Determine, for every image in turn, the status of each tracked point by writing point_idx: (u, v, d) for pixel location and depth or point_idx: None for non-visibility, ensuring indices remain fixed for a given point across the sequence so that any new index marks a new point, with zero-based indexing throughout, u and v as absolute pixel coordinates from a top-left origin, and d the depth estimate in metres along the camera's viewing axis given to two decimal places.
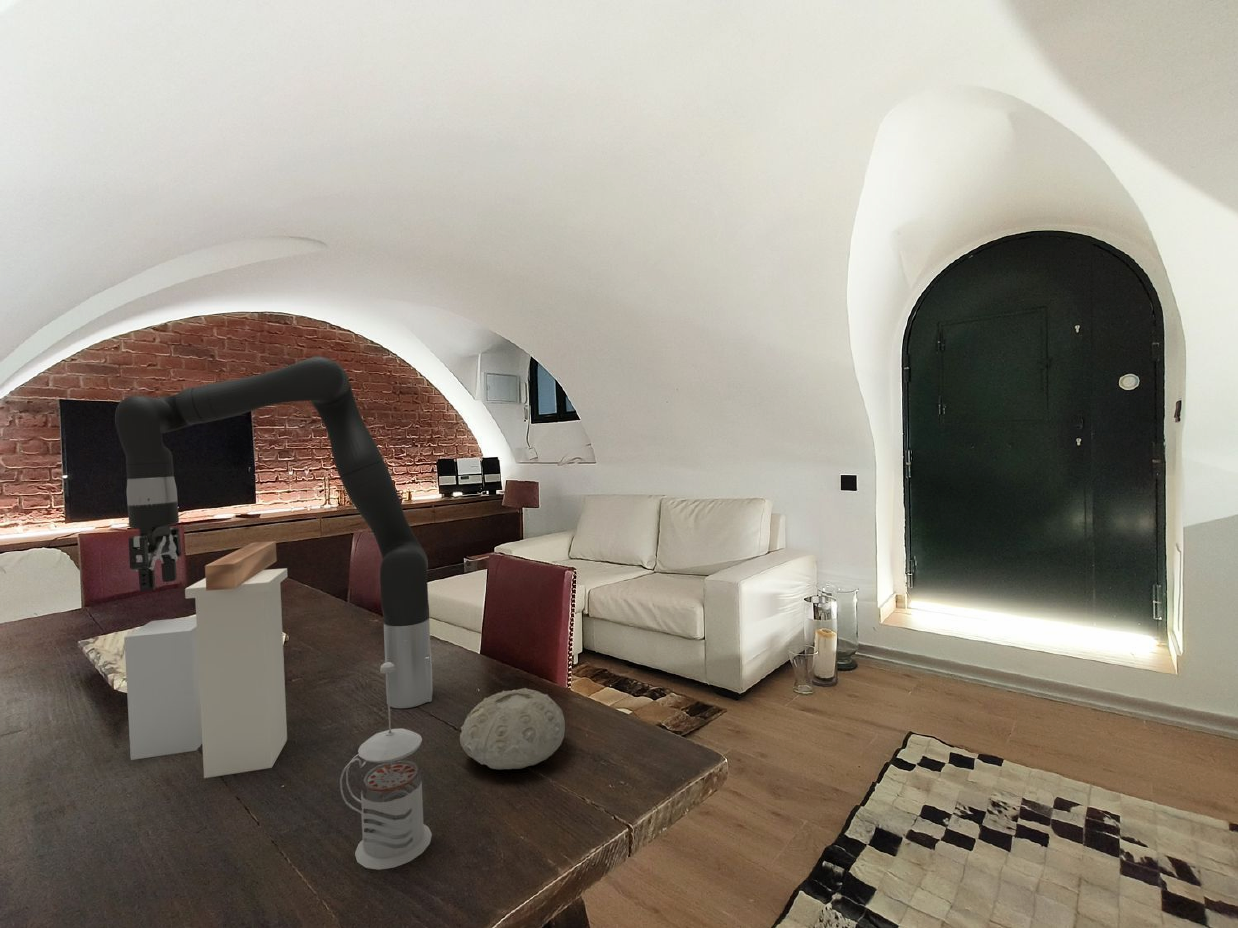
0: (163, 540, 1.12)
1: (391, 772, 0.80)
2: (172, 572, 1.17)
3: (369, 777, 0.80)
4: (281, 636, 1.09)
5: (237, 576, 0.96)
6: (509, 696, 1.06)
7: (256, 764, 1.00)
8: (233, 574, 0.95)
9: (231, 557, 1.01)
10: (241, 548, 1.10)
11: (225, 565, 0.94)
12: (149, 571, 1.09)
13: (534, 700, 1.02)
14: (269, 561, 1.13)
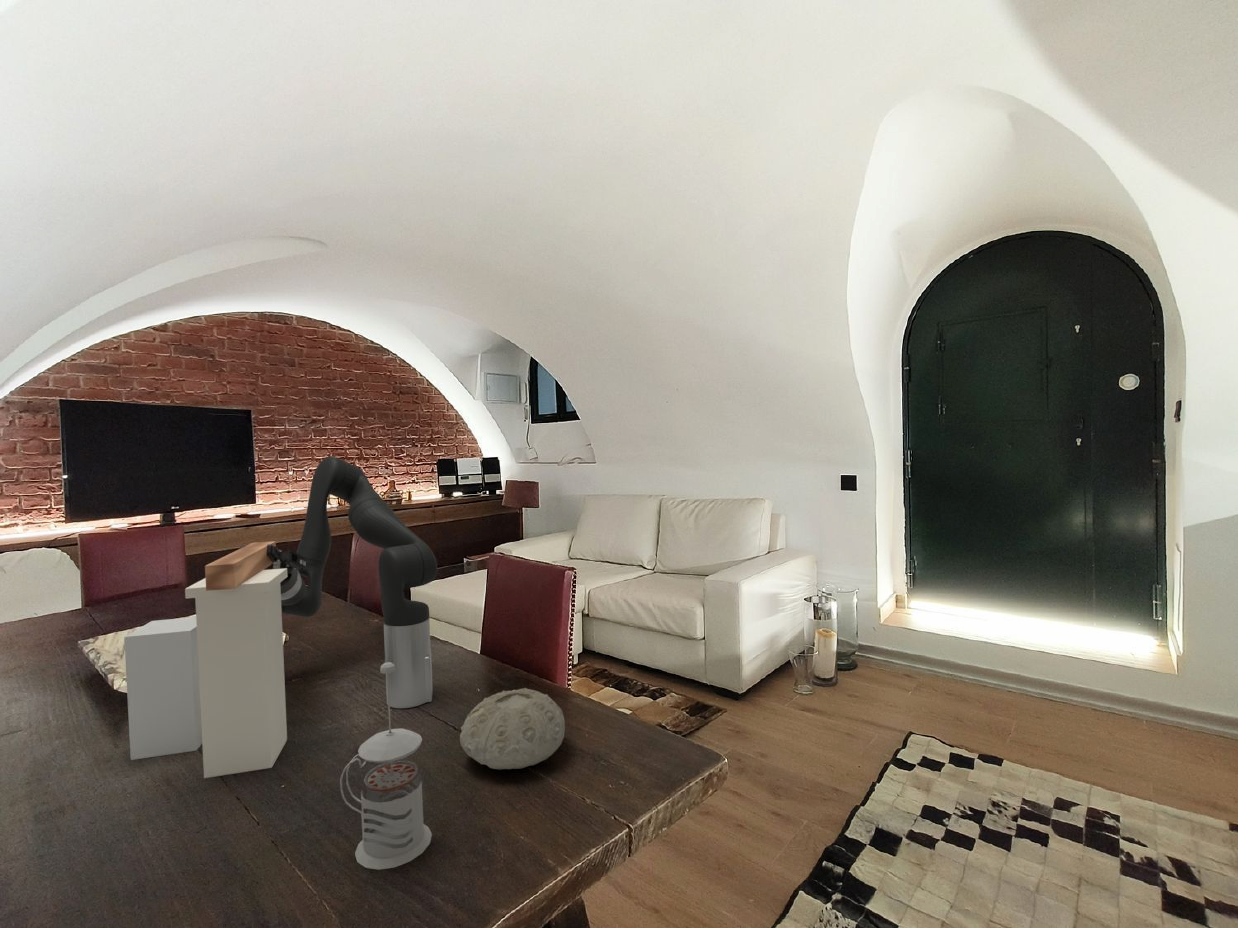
0: None
1: (391, 772, 0.80)
2: None
3: (369, 777, 0.80)
4: (281, 636, 1.09)
5: (237, 576, 0.96)
6: (509, 696, 1.06)
7: (256, 764, 1.00)
8: (233, 574, 0.95)
9: (231, 557, 1.01)
10: (241, 548, 1.10)
11: (225, 565, 0.94)
12: None
13: (534, 700, 1.02)
14: (269, 561, 1.13)
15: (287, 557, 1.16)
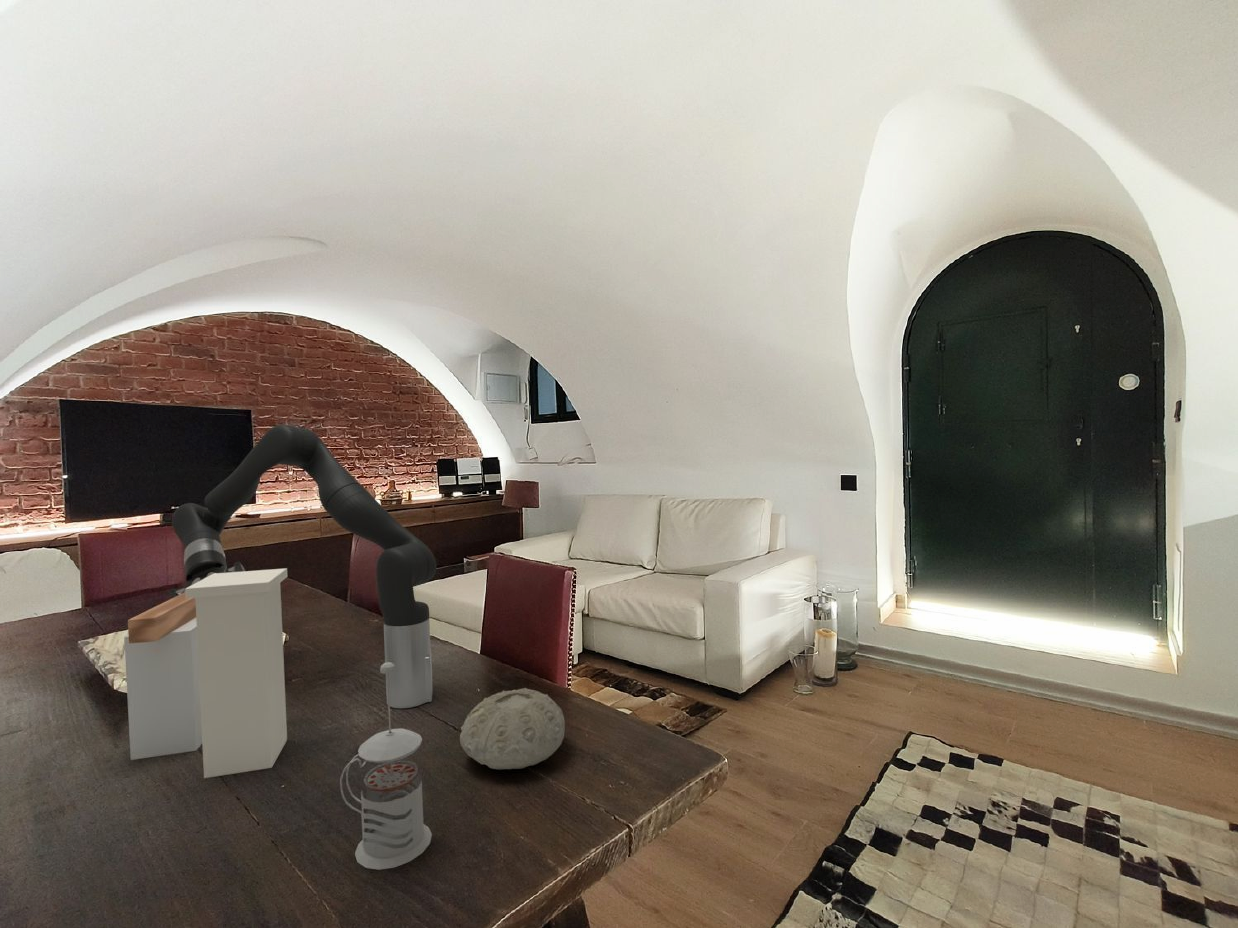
0: (195, 580, 1.25)
1: (391, 772, 0.80)
2: None
3: (369, 777, 0.80)
4: (281, 636, 1.09)
5: (160, 628, 1.02)
6: (509, 696, 1.06)
7: (256, 764, 1.00)
8: (154, 627, 1.01)
9: (159, 608, 1.07)
10: (178, 595, 1.16)
11: (147, 619, 1.00)
12: None
13: (534, 700, 1.02)
14: None
15: None
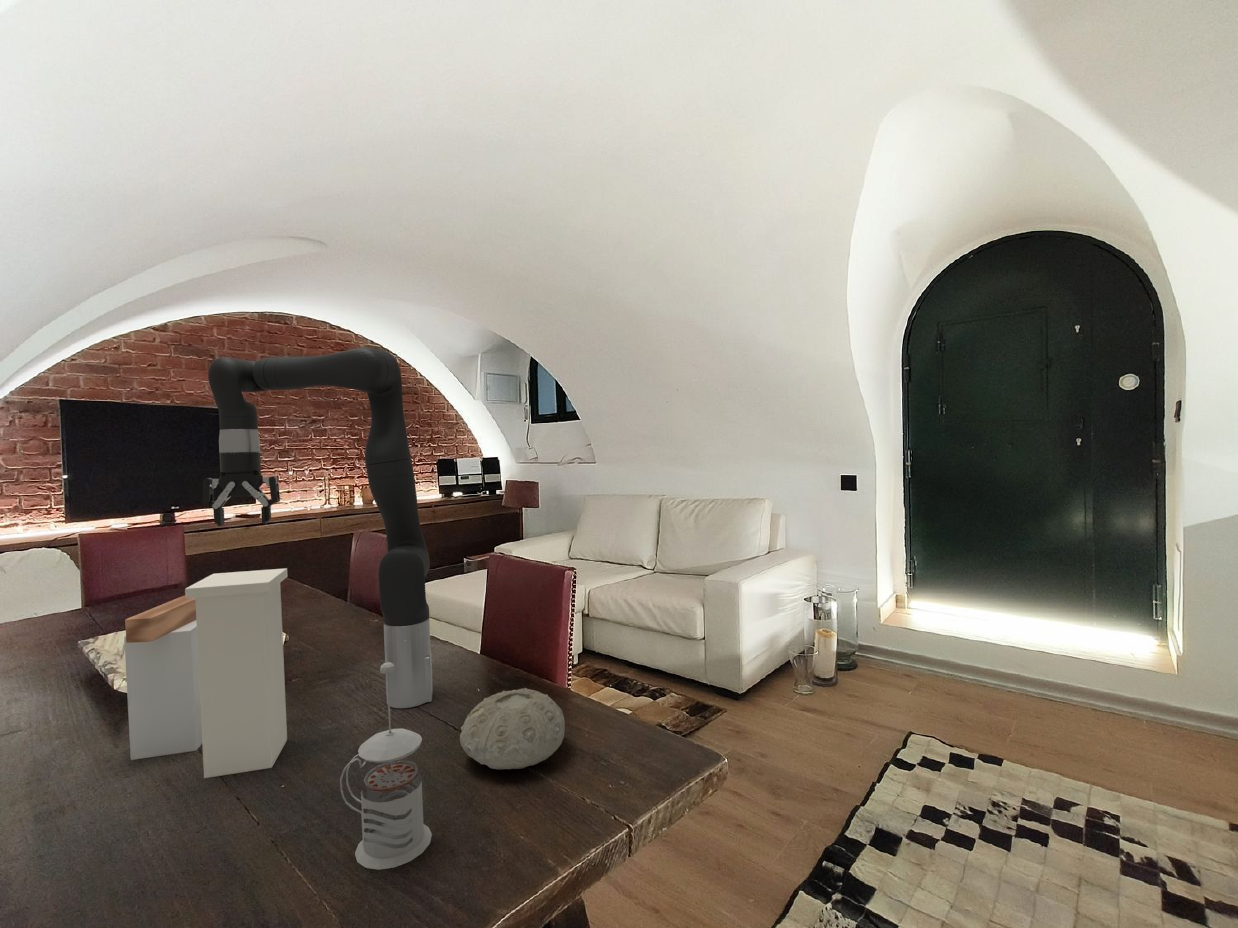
0: (230, 485, 1.27)
1: (391, 772, 0.80)
2: None
3: (369, 777, 0.80)
4: (281, 636, 1.09)
5: (157, 628, 1.02)
6: (509, 696, 1.06)
7: (256, 764, 1.00)
8: (150, 628, 1.00)
9: (161, 608, 1.07)
10: None
11: (143, 619, 1.00)
12: (215, 509, 1.27)
13: (534, 700, 1.02)
14: None
15: None
